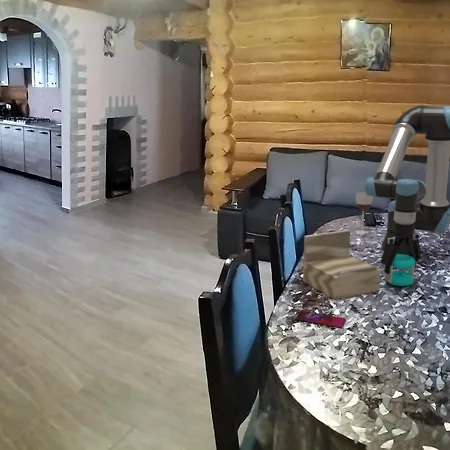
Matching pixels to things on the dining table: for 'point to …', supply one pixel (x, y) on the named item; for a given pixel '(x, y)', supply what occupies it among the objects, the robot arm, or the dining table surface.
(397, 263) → the donuts
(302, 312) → the smartphone
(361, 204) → the wineglass
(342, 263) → the display stand
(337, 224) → the dining table surface
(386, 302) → the dining table surface
